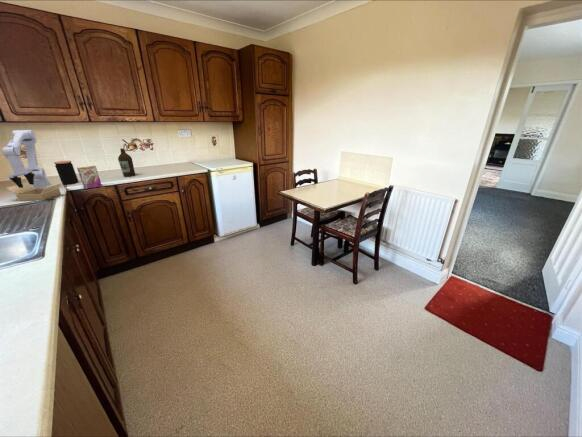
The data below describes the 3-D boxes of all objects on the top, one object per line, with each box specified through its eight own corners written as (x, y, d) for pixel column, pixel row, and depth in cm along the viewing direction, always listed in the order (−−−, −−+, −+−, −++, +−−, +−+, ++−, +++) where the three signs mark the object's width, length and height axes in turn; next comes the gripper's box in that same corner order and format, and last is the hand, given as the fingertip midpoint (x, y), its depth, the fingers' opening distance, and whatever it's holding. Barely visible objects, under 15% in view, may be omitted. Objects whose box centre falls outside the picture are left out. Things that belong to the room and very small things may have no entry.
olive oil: (126, 174, 231) (118, 147, 221) (138, 174, 232) (131, 147, 222) (120, 177, 221) (112, 149, 212) (133, 177, 223) (125, 149, 213)
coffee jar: (82, 182, 207) (74, 160, 200) (68, 185, 197) (60, 163, 190) (72, 181, 210) (65, 160, 202) (59, 184, 200) (50, 162, 193)
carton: (38, 194, 174) (35, 188, 172) (61, 194, 175) (58, 188, 173) (18, 201, 161) (15, 194, 160) (43, 200, 162) (41, 194, 160)
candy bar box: (85, 189, 186) (77, 168, 180) (83, 188, 189) (76, 167, 183) (102, 186, 194) (95, 165, 188) (100, 185, 197) (93, 165, 191)
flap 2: (62, 182, 171) (62, 182, 171) (58, 187, 172) (58, 188, 172) (45, 187, 159) (46, 187, 159) (41, 193, 160) (41, 193, 160)
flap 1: (34, 188, 172) (34, 188, 172) (25, 182, 170) (25, 183, 170) (16, 193, 160) (15, 194, 160) (6, 187, 158) (6, 188, 158)
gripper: (12, 167, 153) (22, 188, 158) (34, 163, 166) (42, 183, 171) (1, 168, 152) (11, 188, 158) (23, 163, 166) (32, 183, 171)
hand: (26, 185), depth 164 cm, fingers open, 7 cm apart
